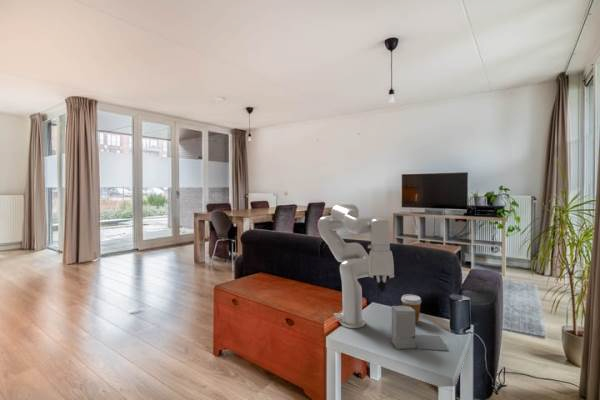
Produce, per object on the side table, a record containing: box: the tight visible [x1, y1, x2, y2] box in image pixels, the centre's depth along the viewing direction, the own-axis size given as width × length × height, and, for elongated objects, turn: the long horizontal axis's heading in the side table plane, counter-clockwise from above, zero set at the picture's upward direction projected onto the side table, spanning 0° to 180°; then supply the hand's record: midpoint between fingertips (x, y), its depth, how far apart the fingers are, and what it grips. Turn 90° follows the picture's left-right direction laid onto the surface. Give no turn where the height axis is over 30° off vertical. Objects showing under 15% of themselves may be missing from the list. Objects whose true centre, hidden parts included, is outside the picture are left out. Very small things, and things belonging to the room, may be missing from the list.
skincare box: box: [391, 305, 416, 350], centre depth 128 cm, size 8×7×16 cm
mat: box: [415, 334, 449, 352], centre depth 129 cm, size 12×12×1 cm
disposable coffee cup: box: [400, 293, 423, 325], centre depth 150 cm, size 10×10×12 cm
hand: (381, 290), depth 128 cm, fingers closed
